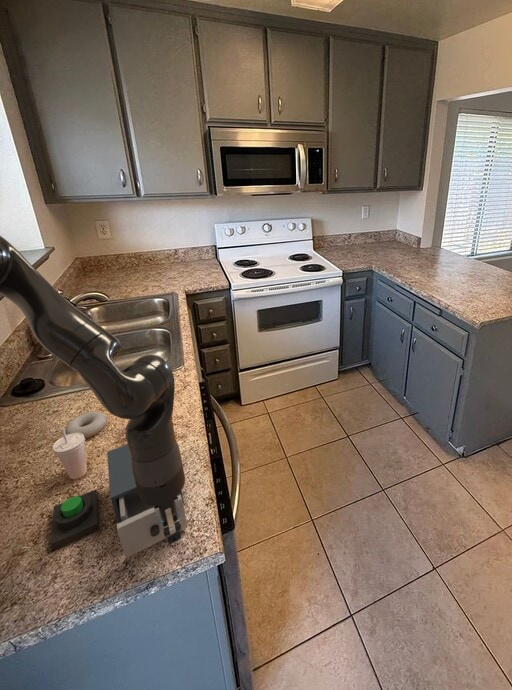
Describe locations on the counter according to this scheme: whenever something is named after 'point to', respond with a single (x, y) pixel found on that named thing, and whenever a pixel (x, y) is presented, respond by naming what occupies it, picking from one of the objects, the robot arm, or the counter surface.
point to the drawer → (141, 524)
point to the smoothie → (71, 453)
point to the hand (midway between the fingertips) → (174, 538)
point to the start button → (72, 506)
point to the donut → (91, 418)
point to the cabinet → (121, 476)
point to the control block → (75, 521)
